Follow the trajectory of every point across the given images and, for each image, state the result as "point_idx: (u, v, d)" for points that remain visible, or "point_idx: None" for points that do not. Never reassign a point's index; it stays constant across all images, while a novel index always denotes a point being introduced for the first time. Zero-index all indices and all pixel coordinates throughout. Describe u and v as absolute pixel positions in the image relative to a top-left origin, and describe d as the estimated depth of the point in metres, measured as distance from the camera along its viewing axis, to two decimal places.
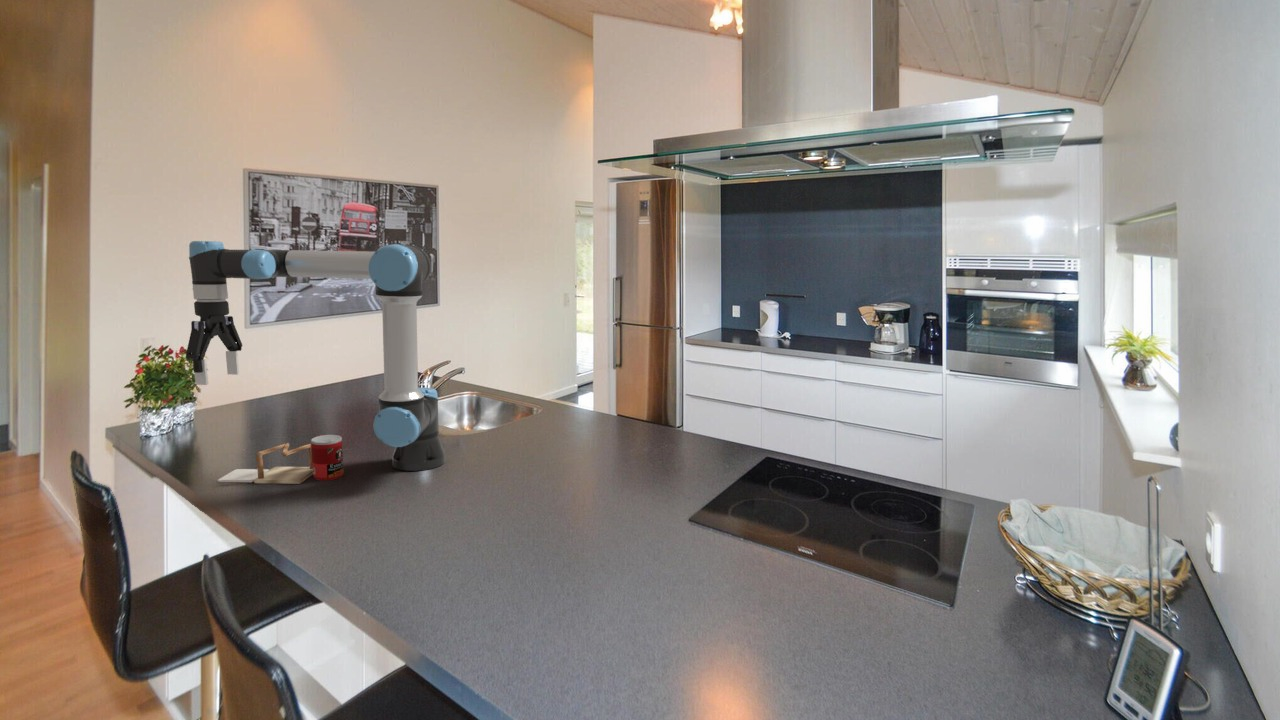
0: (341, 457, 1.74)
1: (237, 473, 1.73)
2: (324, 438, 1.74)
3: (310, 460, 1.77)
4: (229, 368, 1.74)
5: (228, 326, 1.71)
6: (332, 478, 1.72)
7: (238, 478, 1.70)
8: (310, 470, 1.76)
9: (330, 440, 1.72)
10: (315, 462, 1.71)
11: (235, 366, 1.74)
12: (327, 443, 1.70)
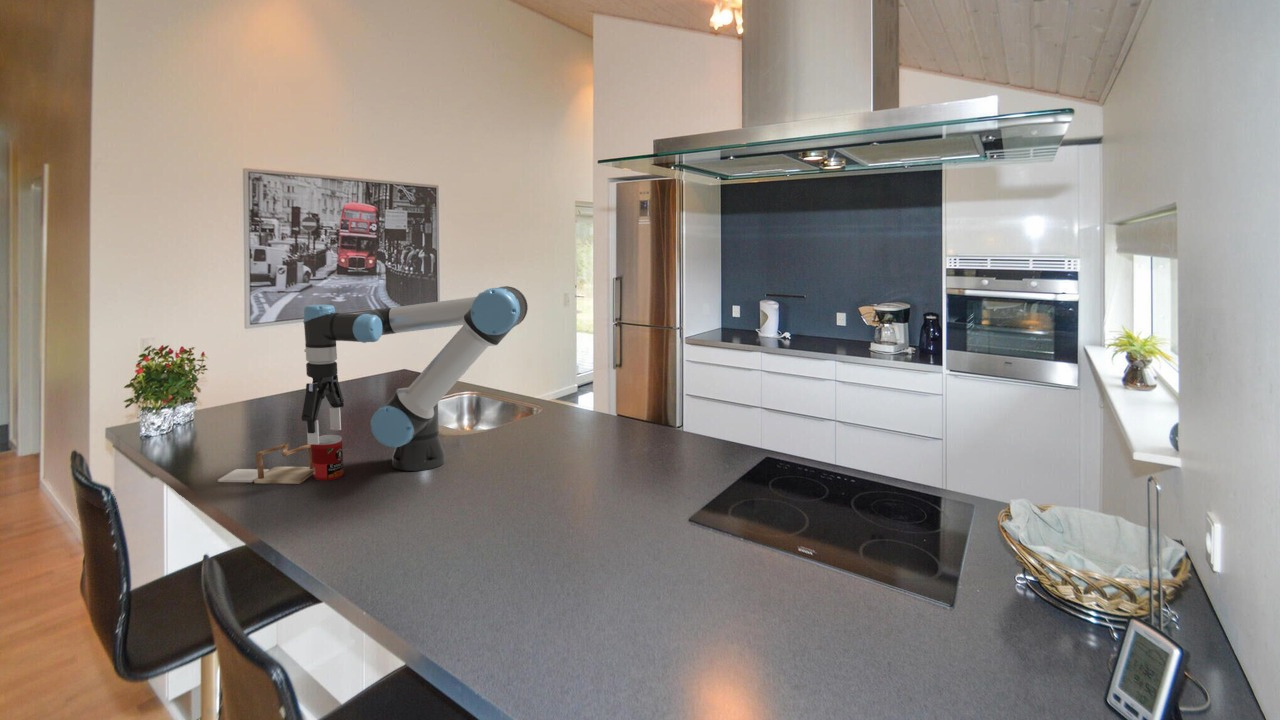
0: (341, 457, 1.74)
1: (237, 473, 1.73)
2: (324, 438, 1.74)
3: (310, 460, 1.77)
4: (332, 424, 1.79)
5: (333, 384, 1.77)
6: (332, 478, 1.72)
7: (238, 478, 1.70)
8: (310, 470, 1.76)
9: (330, 440, 1.72)
10: (315, 462, 1.71)
11: (338, 422, 1.79)
12: (327, 443, 1.70)
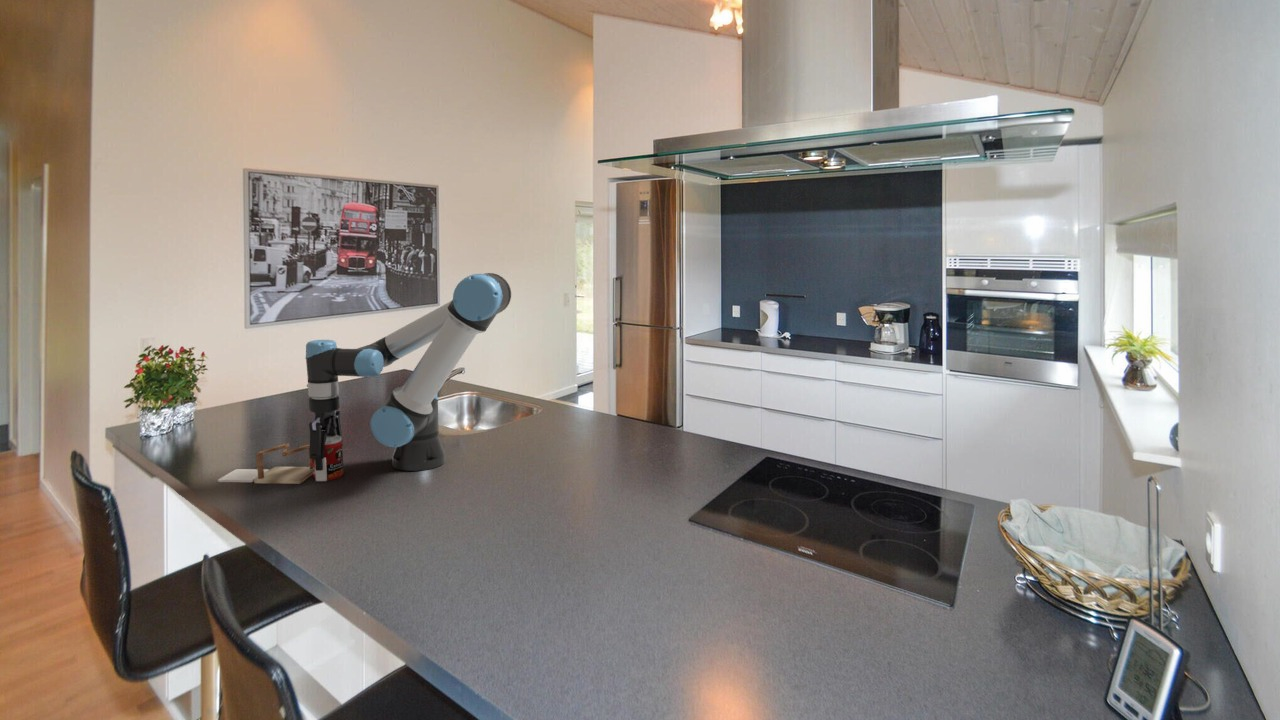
0: (341, 457, 1.74)
1: (237, 473, 1.73)
2: None
3: (310, 460, 1.77)
4: None
5: (334, 420, 1.78)
6: (332, 478, 1.72)
7: (238, 478, 1.70)
8: (310, 470, 1.76)
9: (330, 440, 1.72)
10: None
11: None
12: (327, 443, 1.70)
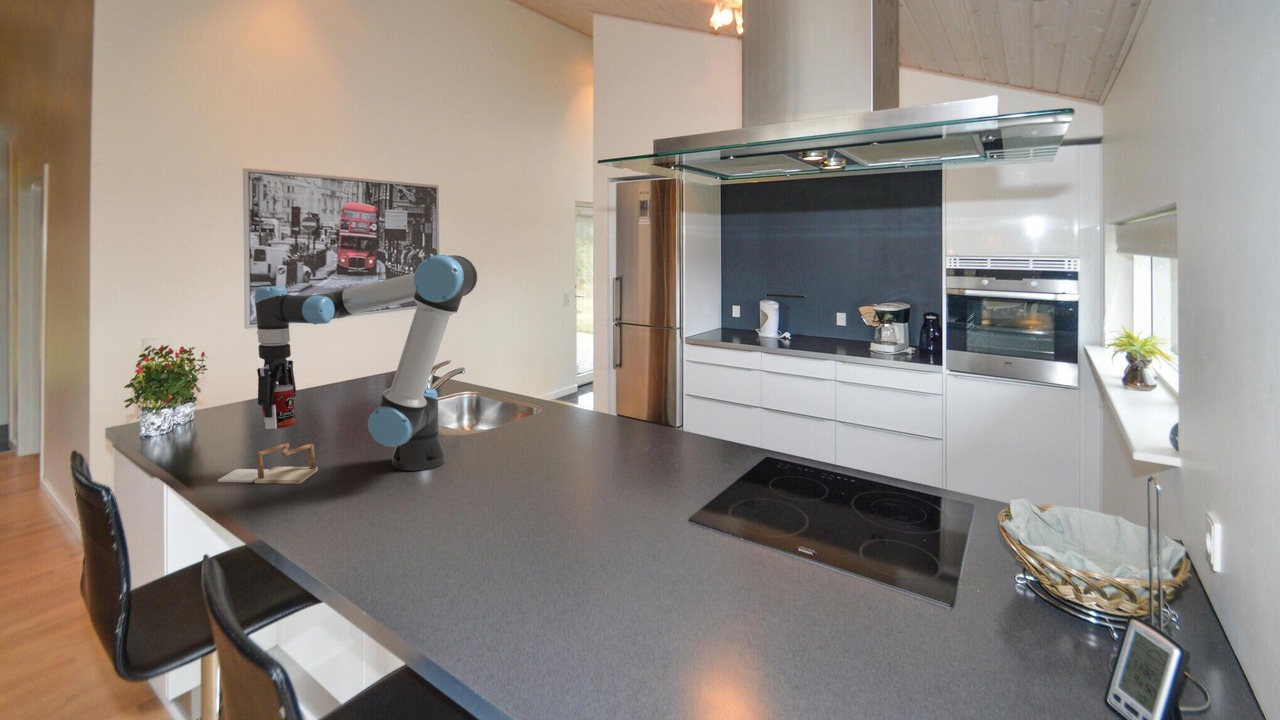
0: (292, 406, 1.73)
1: (237, 473, 1.73)
2: None
3: (310, 460, 1.77)
4: None
5: (287, 369, 1.77)
6: (282, 426, 1.71)
7: (238, 478, 1.70)
8: (310, 470, 1.76)
9: (280, 388, 1.71)
10: None
11: None
12: (276, 390, 1.69)
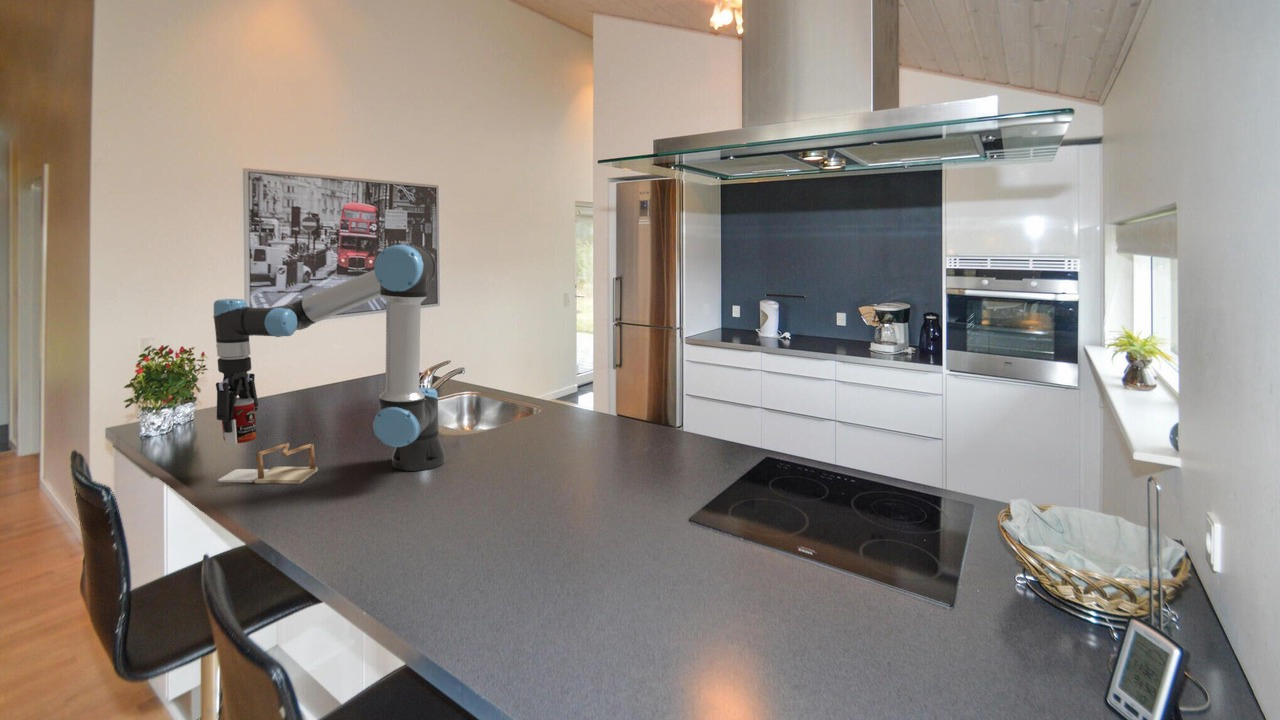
0: (253, 420, 1.70)
1: (237, 473, 1.73)
2: None
3: (310, 460, 1.77)
4: None
5: (248, 383, 1.74)
6: (242, 441, 1.68)
7: (238, 478, 1.70)
8: (310, 470, 1.76)
9: (241, 402, 1.68)
10: None
11: None
12: (236, 404, 1.66)
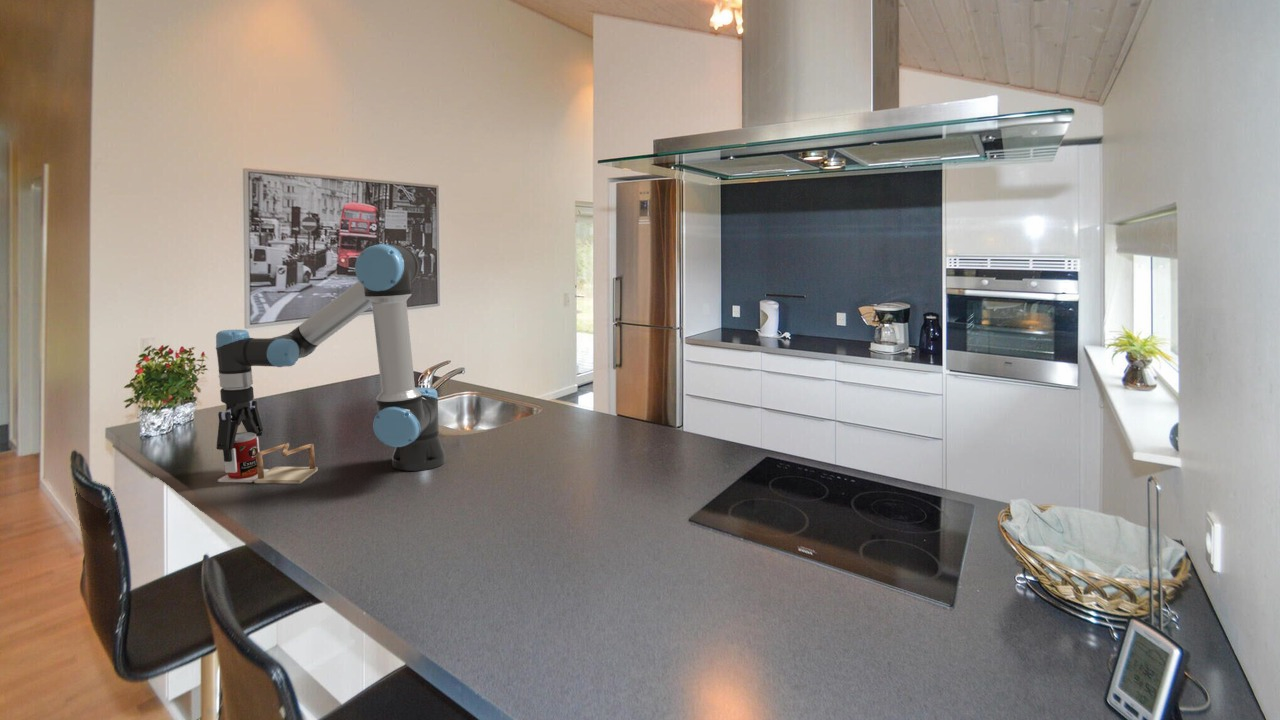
0: None
1: None
2: (238, 436, 1.72)
3: (310, 460, 1.77)
4: None
5: (251, 410, 1.75)
6: (246, 476, 1.70)
7: None
8: (310, 470, 1.76)
9: (243, 438, 1.70)
10: None
11: None
12: (239, 441, 1.67)
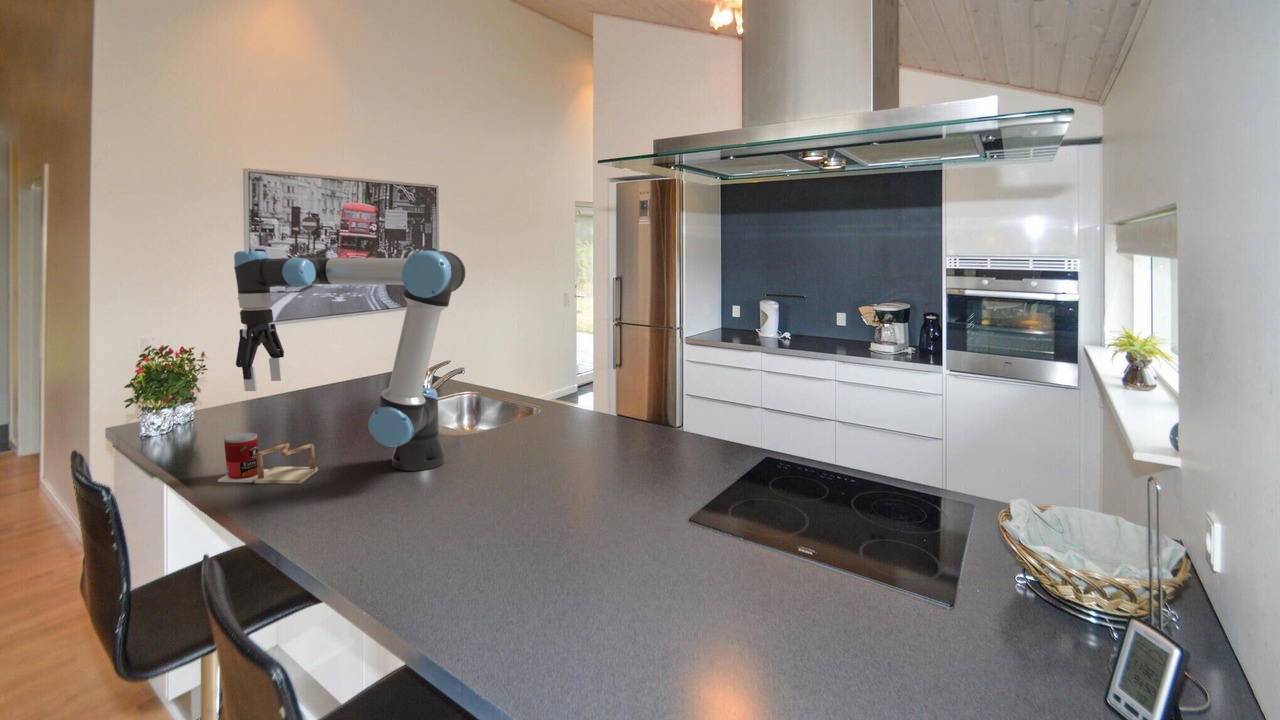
0: None
1: None
2: (239, 436, 1.72)
3: (310, 460, 1.77)
4: (272, 375, 1.78)
5: (270, 333, 1.75)
6: (246, 476, 1.70)
7: None
8: (310, 470, 1.76)
9: (244, 438, 1.70)
10: (228, 460, 1.68)
11: (278, 372, 1.78)
12: (240, 441, 1.68)
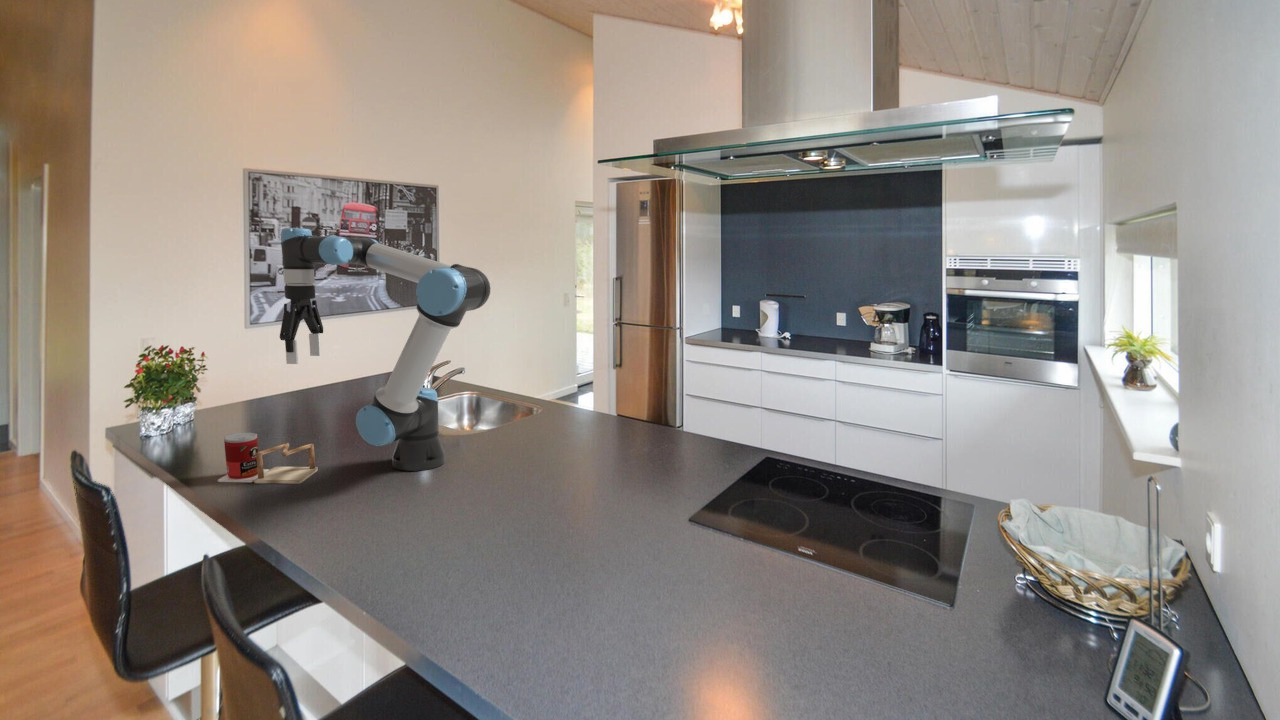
0: None
1: None
2: (239, 436, 1.72)
3: (310, 460, 1.77)
4: (312, 350, 1.83)
5: (312, 309, 1.81)
6: (246, 476, 1.70)
7: None
8: (310, 470, 1.76)
9: (244, 438, 1.70)
10: (228, 460, 1.68)
11: (317, 348, 1.83)
12: (240, 441, 1.68)
